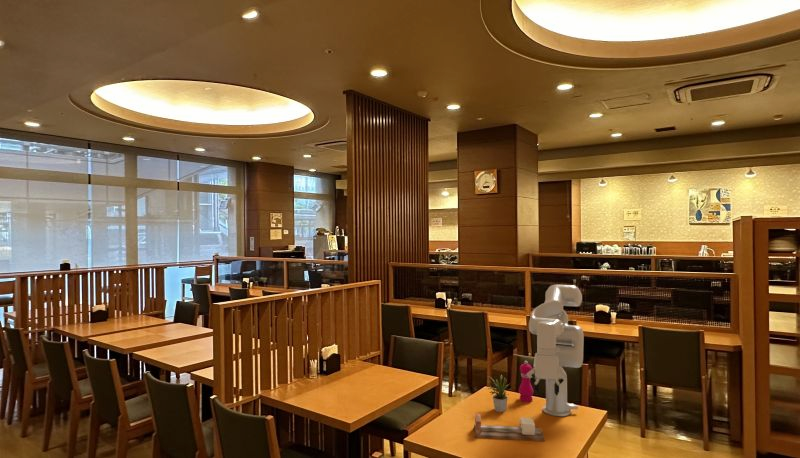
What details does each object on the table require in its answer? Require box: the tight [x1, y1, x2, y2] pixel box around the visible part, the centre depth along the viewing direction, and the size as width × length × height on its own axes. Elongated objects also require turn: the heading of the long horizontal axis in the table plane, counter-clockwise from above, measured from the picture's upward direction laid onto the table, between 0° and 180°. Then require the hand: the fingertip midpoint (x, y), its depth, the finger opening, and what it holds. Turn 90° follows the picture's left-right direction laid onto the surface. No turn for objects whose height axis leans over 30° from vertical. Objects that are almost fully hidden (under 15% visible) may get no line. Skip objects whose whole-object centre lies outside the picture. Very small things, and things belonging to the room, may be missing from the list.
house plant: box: [487, 374, 511, 413], centre depth 220 cm, size 14×14×16 cm
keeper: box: [519, 416, 536, 435], centre depth 191 cm, size 5×7×4 cm
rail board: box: [473, 413, 545, 442], centre depth 192 cm, size 28×10×6 cm, turn 83°
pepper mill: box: [518, 360, 534, 403], centre depth 232 cm, size 7×7×20 cm
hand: (546, 393), depth 190 cm, fingers open, 7 cm apart
